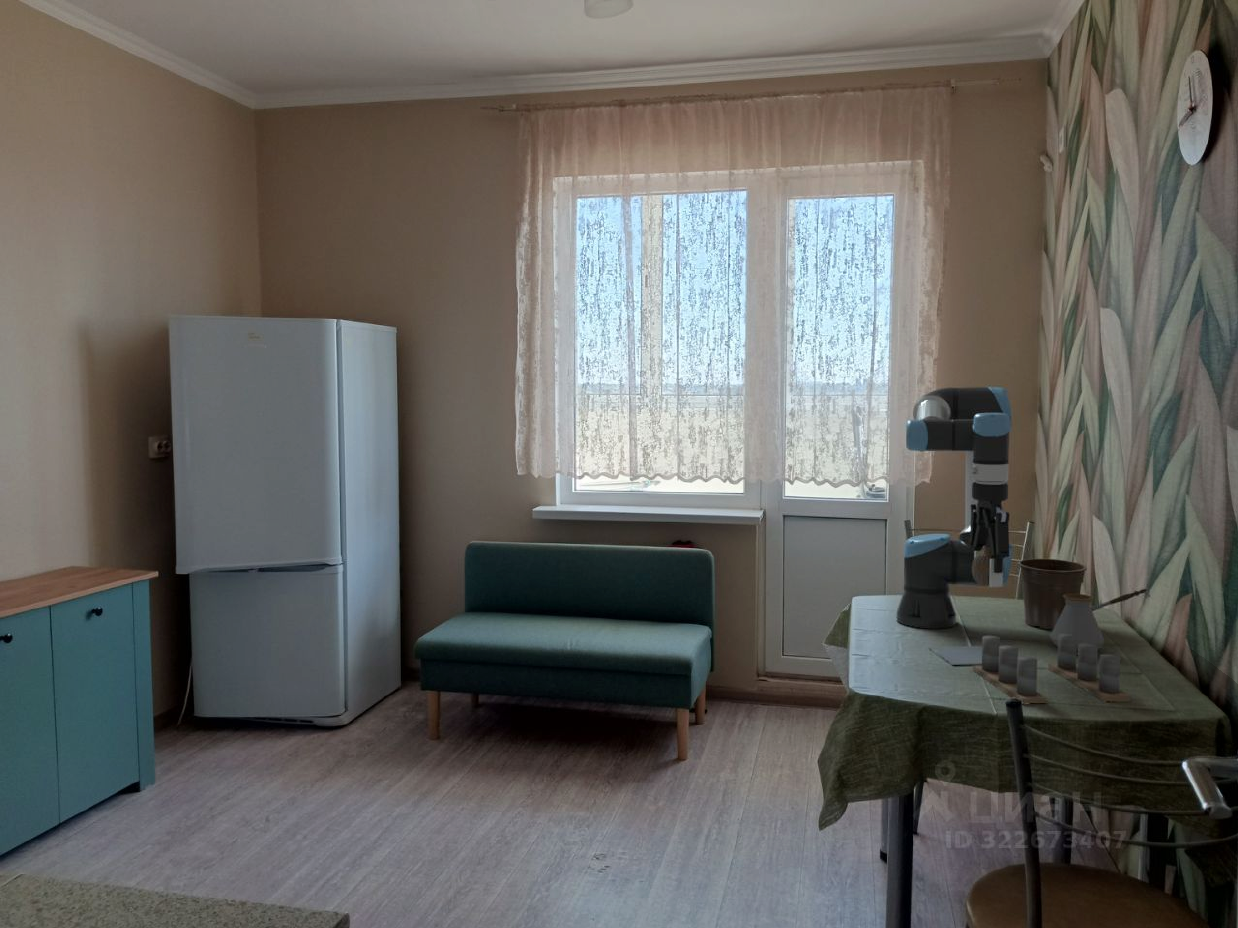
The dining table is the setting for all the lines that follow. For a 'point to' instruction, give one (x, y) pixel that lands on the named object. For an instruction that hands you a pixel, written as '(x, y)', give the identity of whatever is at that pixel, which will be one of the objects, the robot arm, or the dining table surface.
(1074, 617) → the coffee pot
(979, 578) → the vase
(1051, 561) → the plant pot
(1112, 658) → the spacer rack
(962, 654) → the mat
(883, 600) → the dining table surface
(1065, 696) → the dining table surface
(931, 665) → the dining table surface
